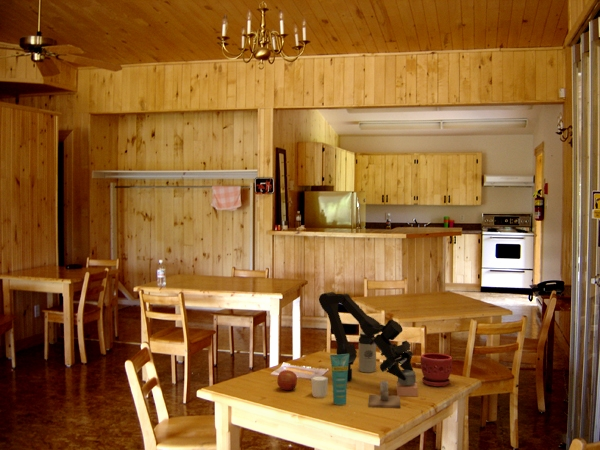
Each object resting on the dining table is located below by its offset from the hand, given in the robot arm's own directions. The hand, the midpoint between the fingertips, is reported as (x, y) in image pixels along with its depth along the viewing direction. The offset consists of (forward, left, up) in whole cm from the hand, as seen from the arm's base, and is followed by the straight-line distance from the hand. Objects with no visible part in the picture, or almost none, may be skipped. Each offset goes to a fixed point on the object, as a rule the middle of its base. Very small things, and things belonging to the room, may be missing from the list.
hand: (409, 377), depth 244 cm
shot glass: (-36, -6, -7) cm, 37 cm away
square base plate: (-10, -12, -6) cm, 17 cm away
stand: (-1, +1, -6) cm, 7 cm away
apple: (-50, 0, -7) cm, 51 cm away
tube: (-27, -15, -7) cm, 32 cm away
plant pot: (+12, +16, -7) cm, 21 cm away
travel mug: (-18, +33, -7) cm, 38 cm away
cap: (-1, +1, -2) cm, 2 cm away
